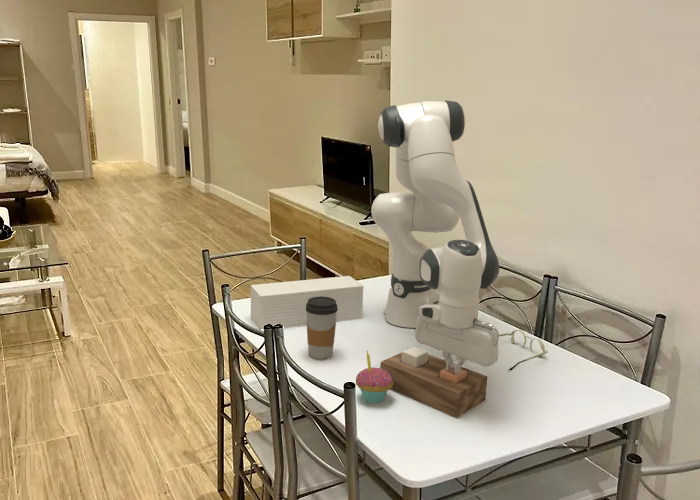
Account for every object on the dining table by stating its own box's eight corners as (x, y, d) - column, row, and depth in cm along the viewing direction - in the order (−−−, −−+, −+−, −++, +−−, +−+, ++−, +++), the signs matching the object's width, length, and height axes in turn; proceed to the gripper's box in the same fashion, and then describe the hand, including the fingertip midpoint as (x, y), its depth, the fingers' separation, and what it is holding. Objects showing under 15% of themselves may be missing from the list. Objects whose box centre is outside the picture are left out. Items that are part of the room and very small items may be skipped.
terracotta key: (449, 381, 151) (450, 365, 150) (465, 387, 149) (466, 371, 148) (438, 387, 148) (439, 371, 147) (454, 393, 145) (456, 377, 144)
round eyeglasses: (551, 363, 172) (553, 345, 171) (508, 373, 165) (510, 355, 164) (506, 340, 187) (508, 324, 185) (465, 349, 179) (466, 332, 178)
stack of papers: (348, 307, 208) (349, 275, 205) (362, 319, 199) (363, 285, 196) (250, 319, 195) (250, 285, 193) (260, 331, 186) (260, 296, 183)
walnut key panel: (409, 369, 164) (411, 347, 163) (485, 400, 150) (487, 376, 148) (379, 384, 156) (380, 361, 154) (456, 418, 141) (458, 393, 140)
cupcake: (361, 409, 144) (363, 359, 141) (350, 391, 152) (352, 344, 149) (397, 405, 146) (400, 356, 143) (385, 388, 154) (387, 341, 151)
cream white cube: (412, 361, 158) (413, 346, 157) (426, 367, 155) (427, 352, 154) (401, 367, 155) (401, 351, 154) (415, 373, 152) (416, 357, 151)
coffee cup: (332, 363, 167) (333, 308, 163) (300, 359, 168) (301, 304, 164) (339, 350, 174) (341, 297, 171) (309, 346, 176) (310, 294, 172)
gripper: (506, 323, 139) (500, 382, 143) (429, 299, 153) (425, 354, 156) (491, 330, 135) (485, 391, 138) (413, 305, 148) (409, 361, 152)
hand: (453, 371), depth 147 cm, fingers closed, pressing on terracotta key
